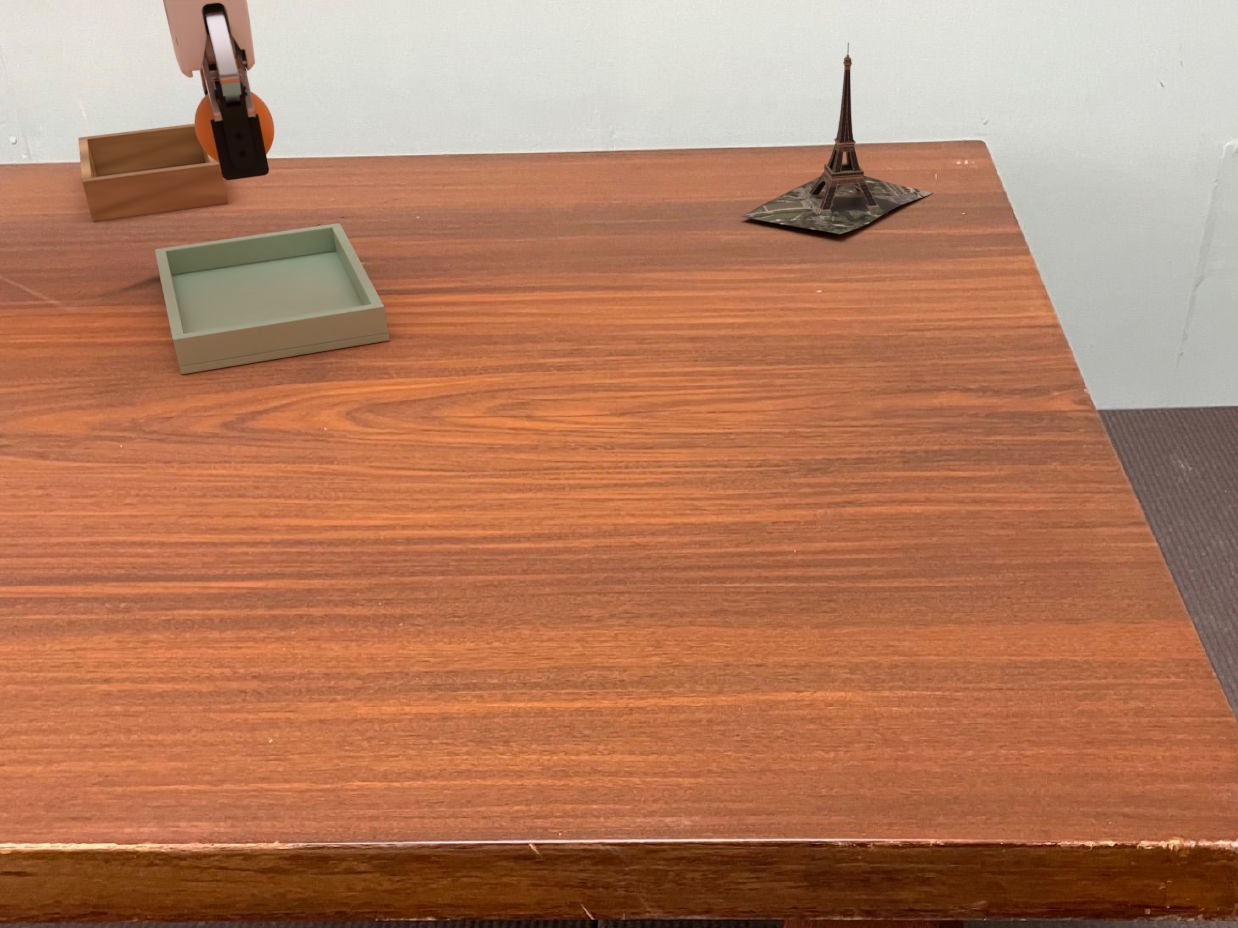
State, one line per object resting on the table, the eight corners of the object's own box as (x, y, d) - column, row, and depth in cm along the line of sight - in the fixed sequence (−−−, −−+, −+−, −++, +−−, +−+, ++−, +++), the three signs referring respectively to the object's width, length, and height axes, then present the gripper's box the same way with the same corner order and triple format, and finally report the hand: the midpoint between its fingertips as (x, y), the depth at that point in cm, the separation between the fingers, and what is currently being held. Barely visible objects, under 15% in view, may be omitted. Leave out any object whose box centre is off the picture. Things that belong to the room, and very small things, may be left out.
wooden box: (230, 210, 130) (220, 163, 128) (94, 228, 127) (82, 181, 125) (214, 165, 142) (205, 122, 139) (89, 181, 139) (78, 137, 136)
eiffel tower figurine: (834, 174, 133) (839, 17, 125) (933, 192, 128) (945, 29, 120) (740, 221, 124) (739, 53, 116) (843, 242, 118) (849, 69, 111)
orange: (232, 185, 102) (215, 101, 98) (189, 171, 105) (171, 89, 101) (296, 166, 105) (281, 84, 101) (253, 153, 108) (237, 73, 104)
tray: (389, 340, 105) (384, 306, 103) (181, 374, 101) (172, 339, 100) (345, 253, 120) (339, 222, 119) (162, 280, 116) (154, 248, 115)
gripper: (116, -132, 99) (178, 141, 110) (128, -99, 86) (198, 207, 97) (228, -141, 101) (279, 128, 112) (257, -111, 88) (311, 191, 99)
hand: (241, 162), depth 104 cm, fingers closed on orange, 5 cm apart
